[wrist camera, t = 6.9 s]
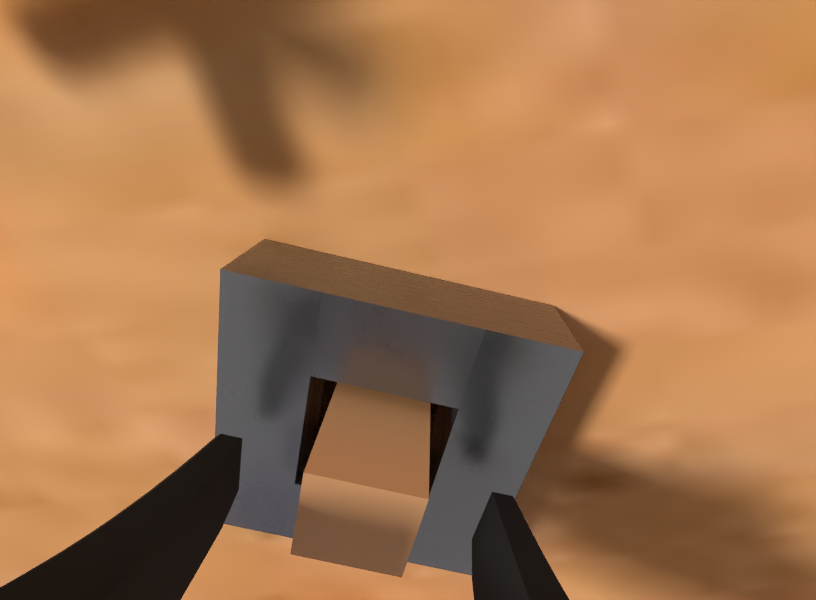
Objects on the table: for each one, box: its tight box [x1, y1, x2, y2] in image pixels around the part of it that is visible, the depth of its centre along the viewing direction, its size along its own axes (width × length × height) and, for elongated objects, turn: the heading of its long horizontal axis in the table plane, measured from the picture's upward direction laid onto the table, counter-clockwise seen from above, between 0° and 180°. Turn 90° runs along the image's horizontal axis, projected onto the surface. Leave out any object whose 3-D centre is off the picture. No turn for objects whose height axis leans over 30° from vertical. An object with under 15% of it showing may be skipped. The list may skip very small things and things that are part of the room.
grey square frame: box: [215, 239, 584, 575], centre depth 14 cm, size 10×10×3 cm
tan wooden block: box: [291, 382, 431, 577], centre depth 13 cm, size 3×3×6 cm
